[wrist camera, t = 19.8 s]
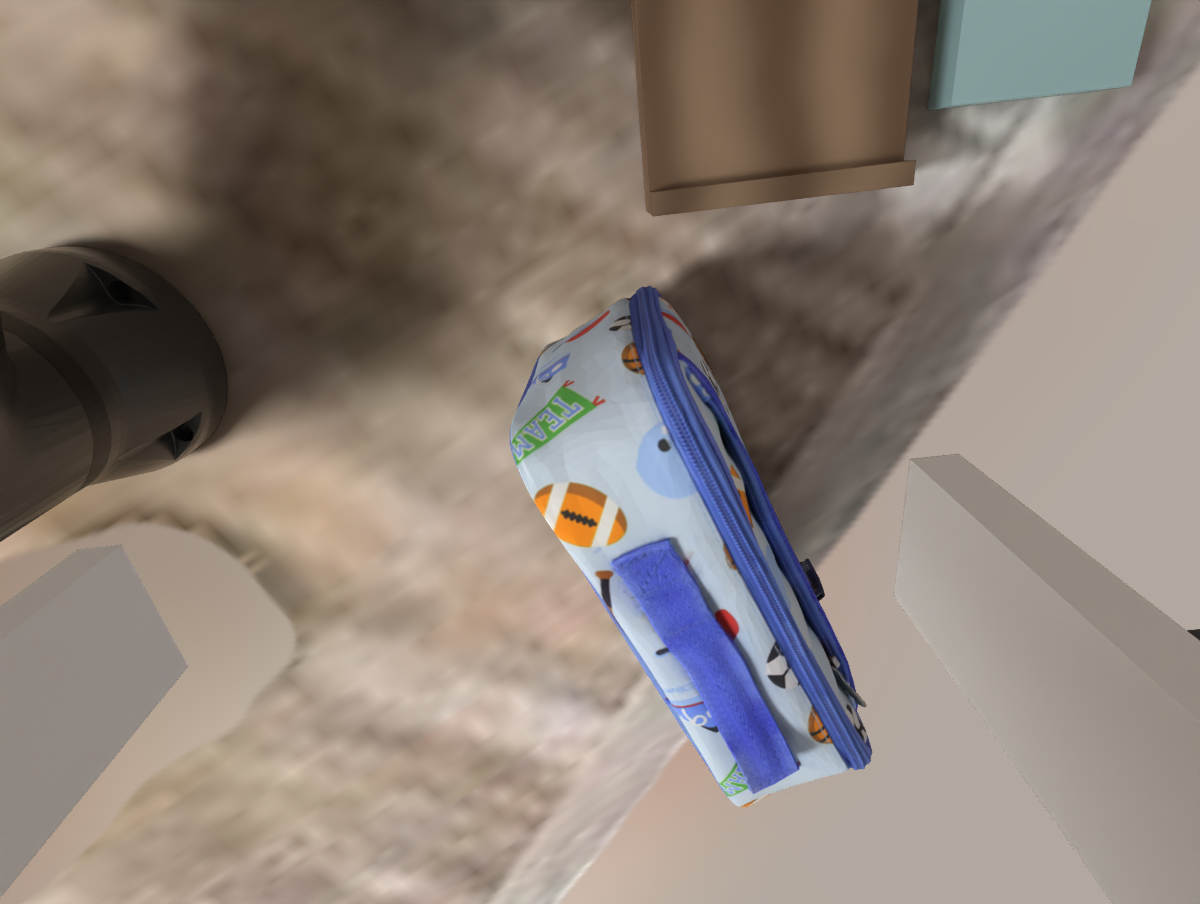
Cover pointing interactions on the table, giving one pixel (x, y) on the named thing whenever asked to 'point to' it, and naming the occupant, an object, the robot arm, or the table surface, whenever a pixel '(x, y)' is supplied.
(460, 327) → the table surface
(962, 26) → the teal rectangular block
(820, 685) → the lunch box
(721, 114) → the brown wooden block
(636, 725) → the table surface
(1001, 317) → the table surface
